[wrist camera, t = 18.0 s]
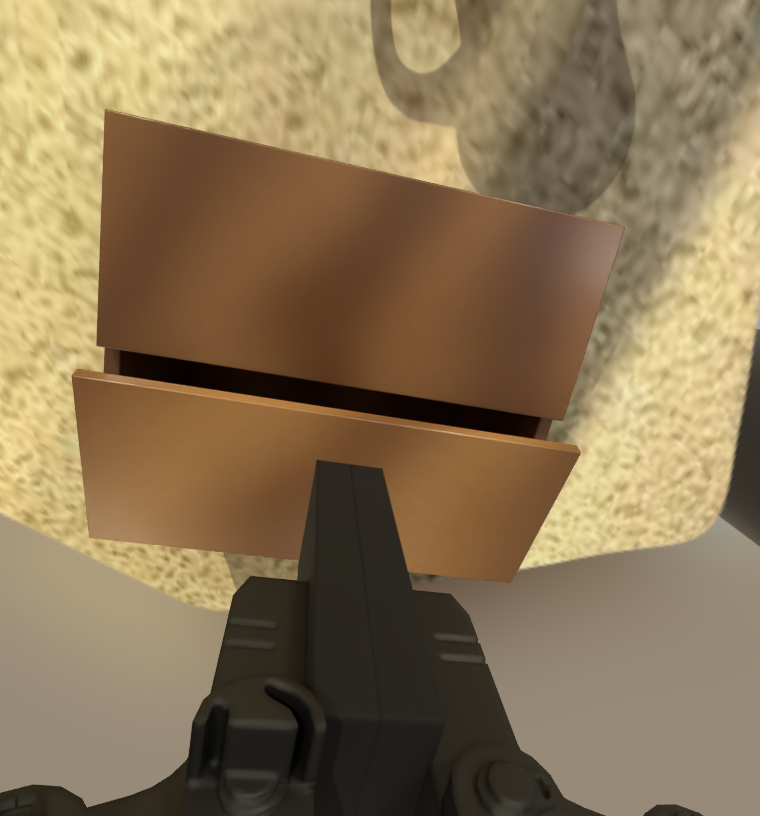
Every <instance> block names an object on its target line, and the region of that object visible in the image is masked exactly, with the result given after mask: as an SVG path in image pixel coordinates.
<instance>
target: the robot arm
mask: <svg viewBox="0 0 760 816" xmlns="http://www.w3.org/2000/svg"><path fill="white" fill-rule="evenodd" d="M0 816H605V815H602V814H600V813H597V812H594V811H592V810H589V809H586V808H584V807H582V806H580V805H577V804H575V803H573V802H571V801H569V800H567V799H565V798H564V797H563V796H562V794H561V792H560V791H559V789H558V787H557V785H556V784H555V782H554V781H553V779H552V777H551V775H550V774H549V773H548V772H547V771H546V770H545V769H544V768H543V767H542V766H541V765H539V763H538V762H537V761H536V760H535V759H534V758H533V757H531V756H529V755H528V754H526V753H524V752H523V751H521V750H520V748H519V746H518V744H517V741H516V739H515V736H514V733H513V731H512V728H511V725H510V723H509V720H508V717H507V715H506V712H505V709H504V707H503V704H502V702H501V699H500V696H499V693H498V691H497V688H496V686H495V683H494V680H493V678H492V675H491V672H490V670H489V667H488V664H485V656H484V653H483V651H482V648H481V645H480V643H478V638H477V635H476V632H475V629H474V627H473V624H472V622H471V619H470V616H469V614H467V612H466V611H465V610H464V609H463V608H462V606H461V605H460V604H459V603H458V602H457V601H456V600H455V599H454V597H453V596H452V595H451V594H446V593H436V592H426V591H416V590H412V586H411V582H410V578H409V573H408V569H407V565H406V561H405V557H404V553H403V549H402V545H401V541H400V537H399V533H398V529H397V525H396V521H395V517H394V513H393V509H392V505H391V501H390V497H389V493H388V489H387V485H386V481H385V477H384V473H383V469H382V468H375V467H367V466H360V465H353V464H345V463H338V462H331V461H323V460H317V461H316V467H315V472H314V478H313V484H312V490H311V495H310V501H309V507H308V512H307V518H306V524H305V529H304V535H303V541H302V546H301V552H300V558H299V564H298V580H297V581H296V580H285V579H275V578H265V577H255V576H250V577H249V578H248V579H247V580H246V581H245V583H244V584H243V585H242V586H241V587H240V588H239V589H238V590H237V591H236V592H235V594H234V595H233V598H232V602H231V607H230V611H229V615H228V620H227V624H226V628H225V633H224V637H223V642H222V646H221V650H220V654H219V659H218V663H217V668H216V672H215V676H214V681H213V685H212V689H211V693H210V695H208V696H207V697H206V698H205V699H204V700H203V702H202V704H201V706H200V708H199V710H198V712H197V714H196V716H195V718H194V720H193V723H192V732H191V740H190V749H189V757H188V758H187V760H186V761H185V762H184V763H183V764H182V765H181V766H180V767H179V768H178V769H177V770H176V771H175V772H174V773H173V774H171V775H170V776H169V777H167V778H166V779H164V780H162V781H161V782H159V783H158V784H156V785H155V786H153V787H151V788H148V789H146V790H143V791H141V792H138V793H136V794H133V795H130V796H127V797H123V798H120V799H116V800H113V801H109V802H105V803H102V804H98V805H95V806H91V807H88V808H87V807H86V805H85V804H84V801H83V800H82V798H80V797H78V796H77V795H75V794H73V793H71V792H70V791H68V790H66V789H64V788H63V787H60V786H45V785H30V786H25V787H21V788H18V789H14V790H10V791H6V792H2V793H0ZM644 816H703V815H701V814H700V813H698V812H695V811H692V810H689V809H687V808H684V807H681V806H678V805H656V806H655V807H653V808H652V809H650V810H649V811H648V812H646V813H645V814H644Z"/></svg>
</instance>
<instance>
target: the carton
mask: <svg viewBox="0 0 760 816" xmlns="http://www.w3.org/2000/svg"><path fill="white" fill-rule="evenodd" d="M624 230H625V227H624V226H619V225H615V224H610V223H606V222H602V221H597V220H593V219H588V218H584V217H579V216H575V215H571V214H566V213H562V212H557V211H553V210H549V209H544V208H540V207H535V206H531V205H527V204H522V203H518V202H513V201H509V200H505V199H500V198H496V197H491V196H487V195H483V194H478V193H474V192H469V191H465V190H461V189H456V188H452V187H447V186H443V185H439V184H434V183H430V182H425V181H421V180H417V179H412V178H408V177H403V176H399V175H395V174H390V173H386V172H381V171H377V170H373V169H368V168H364V167H359V166H355V165H351V164H346V163H342V162H337V161H333V160H328V159H324V158H320V157H315V156H311V155H306V154H302V153H298V152H293V151H289V150H284V149H280V148H276V147H271V146H267V145H262V144H258V143H254V142H249V141H245V140H240V139H236V138H232V137H227V136H223V135H218V134H214V133H210V132H205V131H201V130H196V129H192V128H188V127H183V126H179V125H174V124H170V123H166V122H161V121H157V120H152V119H148V118H144V117H139V116H135V115H130V114H126V113H122V112H117V111H113V110H108V109H106V110H105V121H104V149H103V177H102V205H101V233H100V261H99V289H98V317H97V346H99V347H105V355H104V373H108V374H115V375H121V376H128V377H134V378H141V379H147V380H154V381H160V382H167V383H173V384H180V385H186V386H193V387H199V388H206V389H212V390H219V391H225V392H232V393H238V394H245V395H251V396H258V397H264V398H271V399H277V400H284V401H290V402H297V403H303V404H310V405H316V406H323V407H329V408H336V409H342V410H349V411H355V412H362V413H368V414H375V415H381V416H388V417H394V418H401V419H407V420H414V421H420V422H427V423H433V424H440V425H446V426H453V427H459V428H466V429H472V430H479V431H485V432H492V433H498V434H505V435H511V436H518V437H524V438H531V439H537V440H544V441H546V439H547V435H548V432H549V429H550V426H551V423H552V420H559V421H563V419H564V416H565V413H566V410H567V407H568V404H569V401H570V397H571V394H572V391H573V388H574V385H575V382H576V379H577V376H578V373H579V370H580V366H581V363H582V360H583V357H584V354H585V351H586V348H587V345H588V342H589V338H590V335H591V332H592V329H593V326H594V323H595V320H596V317H597V314H598V311H599V307H600V304H601V301H602V298H603V295H604V292H605V289H606V286H607V283H608V279H609V276H610V273H611V270H612V267H613V264H614V261H615V258H616V255H617V252H618V248H619V245H620V242H621V239H622V236H623V233H624Z"/></svg>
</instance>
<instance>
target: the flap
mask: <svg viewBox="0 0 760 816" xmlns="http://www.w3.org/2000/svg"><path fill="white" fill-rule="evenodd" d="M72 383H73V393H74V402H75V411H76V420H77V429H78V438H79V447H80V456H81V465H82V474H83V483H84V492H85V502H86V511H87V520H88V529H89V537H90V538H97V539H106V540H115V541H125V542H134V543H143V544H152V545H162V546H171V547H180V548H190V549H199V550H208V551H217V552H227V553H236V554H245V555H255V556H264V557H273V558H283V559H292V560H299V558H300V552H301V546H302V541H303V535H304V529H305V524H306V518H307V512H308V507H309V501H310V495H311V490H312V484H313V478H314V472H315V467H316V461H317V460H323V461H331V462H338V463H345V464H353V465H360V466H367V467H375V468H382V469H383V473H384V477H385V481H386V485H387V489H388V493H389V497H390V501H391V505H392V509H393V513H394V517H395V521H396V525H397V529H398V533H399V537H400V541H401V545H402V549H403V553H404V557H405V561H406V565H407V569H408V572H413V573H422V574H431V575H440V576H450V577H459V578H468V579H479V580H487V581H496V582H506V583H511V582H512V580H513V578H514V576H515V575H516V573H517V571H518V569H519V567H520V565H521V563H522V562H523V560H524V558H525V556H526V554H527V552H528V550H529V549H530V547H531V545H532V543H533V541H534V539H535V537H536V536H537V534H538V532H539V530H540V528H541V526H542V524H543V523H544V521H545V519H546V517H547V515H548V513H549V511H550V510H551V508H552V506H553V504H554V502H555V500H556V498H557V497H558V495H559V493H560V491H561V489H562V487H563V485H564V484H565V482H566V480H567V478H568V476H569V474H570V472H571V471H572V469H573V467H574V465H575V463H576V461H577V459H578V457H579V456H580V454H581V452H580V450H579V449H578V447H577V446H576V445H570V444H563V443H557V442H550V441H544V440H537V439H531V438H524V437H518V436H511V435H505V434H498V433H492V432H485V431H479V430H472V429H466V428H459V427H453V426H446V425H440V424H433V423H427V422H420V421H414V420H407V419H401V418H394V417H388V416H381V415H375V414H368V413H362V412H355V411H349V410H342V409H336V408H329V407H323V406H316V405H310V404H303V403H297V402H290V401H284V400H277V399H271V398H264V397H258V396H251V395H245V394H238V393H232V392H225V391H219V390H212V389H206V388H199V387H193V386H186V385H180V384H173V383H167V382H160V381H154V380H147V379H141V378H134V377H128V376H121V375H115V374H108V373H102V372H95V371H89V370H82V369H77V370H76V371H75V372H74V373H73V375H72Z"/></svg>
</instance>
